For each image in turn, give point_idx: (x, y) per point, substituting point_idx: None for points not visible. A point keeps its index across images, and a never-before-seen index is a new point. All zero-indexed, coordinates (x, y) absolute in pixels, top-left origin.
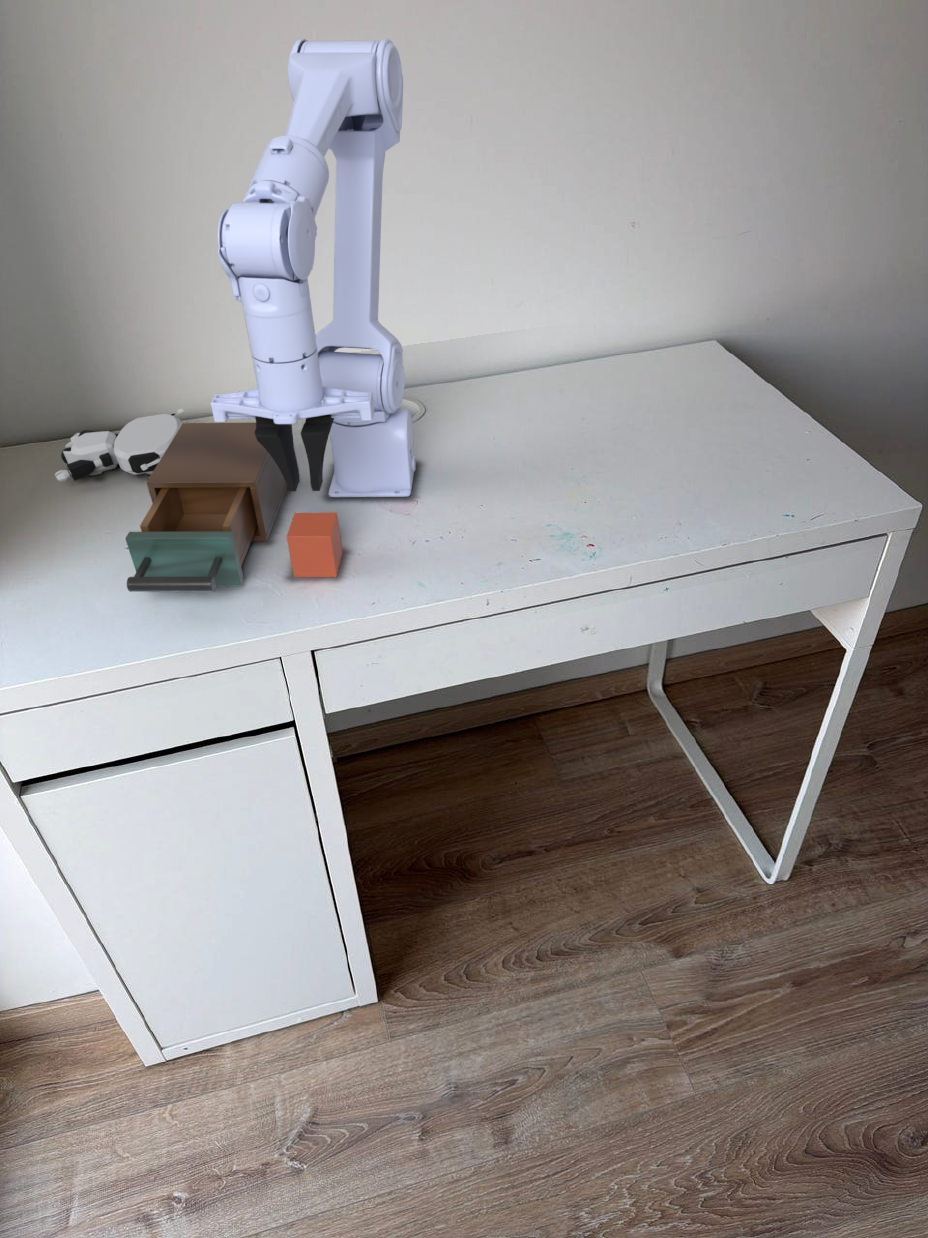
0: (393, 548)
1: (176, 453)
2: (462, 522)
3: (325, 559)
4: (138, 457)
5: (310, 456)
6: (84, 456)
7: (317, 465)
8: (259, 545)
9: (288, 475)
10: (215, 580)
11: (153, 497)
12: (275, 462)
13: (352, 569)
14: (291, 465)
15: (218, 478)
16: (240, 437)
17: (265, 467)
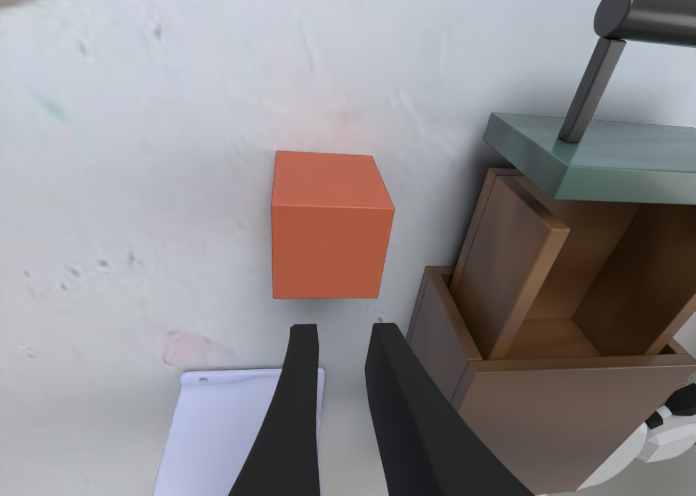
0: (171, 242)
1: (611, 435)
2: (49, 314)
3: (296, 172)
4: None
5: (300, 474)
6: (684, 421)
7: (274, 422)
8: (440, 256)
9: (405, 372)
10: (550, 120)
11: None
12: (470, 428)
13: (245, 177)
14: (395, 417)
15: (553, 380)
16: None
17: None
